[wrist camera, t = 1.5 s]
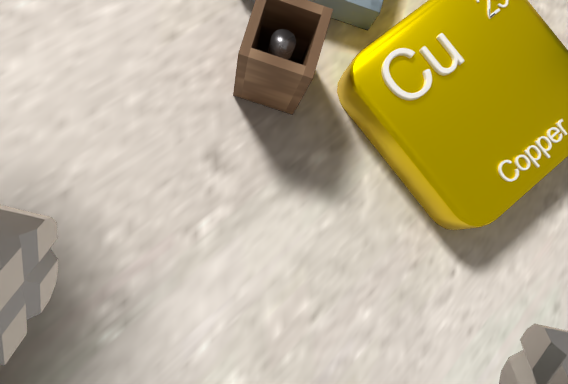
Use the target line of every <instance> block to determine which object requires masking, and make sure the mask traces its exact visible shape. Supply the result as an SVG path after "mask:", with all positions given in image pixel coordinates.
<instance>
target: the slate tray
mask: <svg viewBox="0 0 568 384" xmlns="http://www.w3.org/2000/svg"><path fill="white" fill-rule="evenodd" d="M308 1H311V2H314V3H317V4H320V5H323V6H326V7H328V8H331V9H333V12H332V15H331V18H333V19H336V20H339V21H342V22H345V23H348V24H351V25H354V26H357V27H359V28H362V29H365V30H368V29H369V28H370V26H371V25H372V23H373V22H374V20H375V19H376V17H377V16H378V14H379V13H380V10H381V6H382V3H383V0H308Z"/></svg>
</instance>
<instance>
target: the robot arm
mask: <svg viewBox="0 0 568 384" xmlns="http://www.w3.org/2000/svg"><path fill="white" fill-rule="evenodd" d="M57 238H58V235H57V222H56V221H55V220H54V219H53V218H52V217H49V216H45V215H41V214H37V213H32V212H28V211H24V210H20V209H16V208H12V207H8V206H4V205H0V365H5V364H6V363H7V361H8V360H9V359H10V357H11V356H12V354H13V353H14V351H15V350H16V349H17V347H18V346H19V344H20V343H21V341H22V340H23V339H24V337H25V336H26V334H27V321H26V320H28V319H30V318H32V317H34V316H36V315H38V314H40V313H41V312H42V311H43V309H44V308H45V306H46V305H47V303H48V302H49V300H50V298H51V295H52V293H53V290H54V288H55V285H56V281H57V275H58V258H57V257H56V256H55V254H54V253H53V252H52V250H51V249H50V248H51V246H52V245H53V244H54V242H55V241H56V240H57ZM520 341H521V344H522V348H523V350H522V351H520V352H518V353H516V354H514V355H512V356H510V357H509V358H508V360H507V361H506V363H505V365H504V367H503V369H502V370H501V375H500V381H499V384H568V331H567V330H562V329H557V328H553V327H548V326H543V325H539V324H534V325H532V326H531V327H529V328H528V329H527V330H526V331H525V333H524V334H523V336H522V337H521V339H520Z"/></svg>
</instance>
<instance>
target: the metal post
mask: <svg viewBox="0 0 568 384" xmlns="http://www.w3.org/2000/svg"><path fill="white" fill-rule="evenodd" d="M295 45H296V38H295V36H294V34H293V33H292V32H290V31H289V30H286V29H279V30H277V31H275V32H274V33H273V34H272V36H271V40H270V43H269V47H268V51H267V53H268V54H271V55H274V56H277V57H280V58H283V59H286V60H289V61H290V58H291V56H292V53H293V51H294V48H295Z"/></svg>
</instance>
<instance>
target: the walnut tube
mask: <svg viewBox="0 0 568 384" xmlns="http://www.w3.org/2000/svg"><path fill="white" fill-rule="evenodd" d="M332 12H333V9H331V8H328V7H326V6H323V5H320V4H317V3H314V2H311V1H308V0H256V1H255V4H254V7H253V10H252V13H251V16H250V19H249V22H248V25H247V28H246V32H245V35H244V38H243V41H242V44H241V47H240V50H239V53H238V61H237V69H236V77H235V85H234V93H233V95H234V96H237V97H240V98H243V99H246V100H249V101H252V102H255V103H258V104H261V105H264V106H267V107H270V108H274V109H277V110H280V111H283V112H286V113H289V114H292V115H293V113H294V111H295V110H296V108H297V106H298V104H299V102H300V101H301V99H302V97H303V95H304V93H305V92H306V90H307V88H308V86H309V84H310V83H311V81H312V79H313V76H314V73H315V69H316V66H317V62H318V59H319V56H320V52H321V49H322V46H323V42H324V39H325V35H326V32H327V29H328V25H329V22H330V18H331V15H332ZM279 29H286V30H289V31H290V32H292V33H293V34H294V36H295V38H296V45H295V48H294V51H293V53H292V56H291V58H290V60H292V61H295V62H298V63H300V64H298V63H295V62H292V61H289V60H286V59H283V58H280V57H277V56H274V55H271V54H268V53H265V52H267V51H268V47H269V43H270V40H271V36H272V34H273V33H274V32H275V31H277V30H279ZM257 49H259V50H262V51H265V52H262V51H259V50H257Z"/></svg>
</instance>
